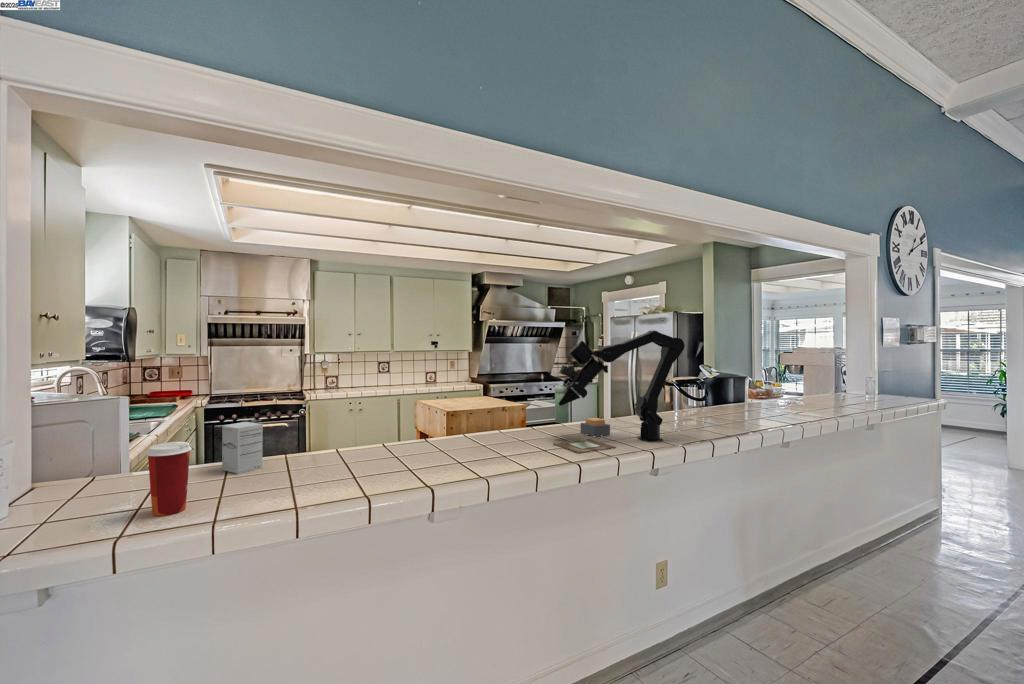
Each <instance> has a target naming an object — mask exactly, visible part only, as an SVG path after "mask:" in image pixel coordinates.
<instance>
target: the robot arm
mask: <svg viewBox="0 0 1024 684" xmlns="http://www.w3.org/2000/svg"><path fill="white" fill-rule="evenodd" d="M651 343H653V344H655V345H656V346H658V347H661V349H660V359H659V360H658V361H659V362H658V364H657V366H656V369H655V371H654V373H653V375H652V378H651V381H650V383H649V385H648V388H647V390H646V393H644V395H643V396H641V395H638V396H637V399H636V402H635V404H633V405H634V412H635V415H636V416H638V417H639V421H641V424H640V436H638V437H637V439H639V440H642V441H645V440H646V441H645V442H649V441H654V442H658V441H657V440H661V441H664V439H663V438H661V436H660V435H661V433H660V432H661V431H660V430H661V426H662V423H663V420H664V419H663V418H662V417H661V416H660V415H659V414H658V413H657V412H658V407H659V397H660V396H661V395H660V394H661V392H662V389H663V387H664V385H665V382H666V381H667V378H668V376H669V373H670V371H671V369H672V366H673V364H674V363H675V362H676V360H677V359H679V357H680V356H681V355H682V353H683V352H684V350H685V346H686V344H685V342H684V340H683V339H682V338H681V337H672V336H670V335H667V334H664V333H662V332H659V331H657V330H649V331H647V332H645V333H643V334H640V335H638V336H635V337H633V338H630V339H628V340H625V341H623V342H619V343H615V344H610V345H604V346H601V347H599V348H598V350H597V349H595V350H594V349H593V350H591V348H590V347H588V345H587V344H586V342H584V341H583V340H581V341H580V342H579V343H577V344H576V345H575V346H573V347H572V348H571V349H570V350H569V351H568V354H569V355H570V357H572V358H573V359H574V361H575V362H577V363H578V364H579V365H581V364H583V367H582V368H581V369H580V368H578V369H577V370H575V366H572V365H568V366H567V365H562V366H561V368H560V370H559V372H558V373H559V374H561V375H563V376H565V377H564V378H563V379H562V385H566V386H567V392H566V393H565V395H564V396H563V398H562V399H561V400H560V402H559V405H560V406H561V405H564V404H566V403H569V404H570V403H571V402H573V401H576V400H579V399H581V398H582V399H585V397H587V396H588V390H587V389H586V388H587V386H588V385H589V384H592V383H593V382H594V381H593V380H594V379H596V377H597V376H598V375H599V374H600V373H601V372H603V373H605V374H608V373H609V365H606V364H605V365H604V363H608V364H609V363H613V362H614V361H616V360H618V359H619V358H620V357H622V356H624V355H625V354H626V353H629V352H631V351H633V350H636V349H638V348H640V347H644V346H646V345H648V344H651ZM595 358H597V359H595ZM602 362H604V363H602Z"/></svg>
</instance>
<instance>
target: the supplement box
mask: <svg viewBox="0 0 1024 684" xmlns="http://www.w3.org/2000/svg"><path fill="white" fill-rule="evenodd" d="M263 427H264V425H263V423H258V422H257V423H256V422H251V421H250V422H249V421H241V422H236V423H230V424H224V425H222V437H221V438H222V439H221V440H222V443H221V444H222V445H221V448H222V449H221V455H222V457H221V458H222V459H221V460H222V461H221V462H222V463H221V470H222V471H226V472H229V473H233V474H237V475H240V474H244V473H247V472H251V471H255V470H259V468H260V469H262V468H263V433H264V432H263V431H264V429H263Z"/></svg>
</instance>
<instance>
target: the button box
mask: <svg viewBox="0 0 1024 684" xmlns="http://www.w3.org/2000/svg"><path fill="white" fill-rule="evenodd" d="M582 433H585V434H588V435H591V436H599V437H602V436H601V435H607V436H611V424H609V423H605V425H597V426H593V425H589V424H586V421H585V422H580V434H582ZM585 434H584V435H585ZM588 435H587V436H588ZM591 436H590V437H591Z"/></svg>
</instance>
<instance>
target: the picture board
mask: <svg viewBox="0 0 1024 684" xmlns="http://www.w3.org/2000/svg"><path fill="white" fill-rule="evenodd" d="M553 445H554V446H556V445H557V446H556V447H559V448H562V449H564V450H567V451H569V450H570V452H572V453H575V454H577V453H579V454H585V452H586V453H591V451H593V452H598V451H597V450H600V451H605V450H604V449H606V450H612V449H611V448H613V449H617V446H614V445H611V444H607V443H604V442H601V441H598V440H595V439H592V438H585V439H579V440H578V439H577V440H571V441H570V440H568V441H562V442H554V443H553Z"/></svg>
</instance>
